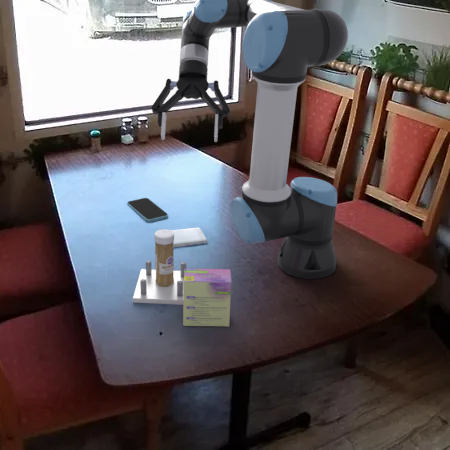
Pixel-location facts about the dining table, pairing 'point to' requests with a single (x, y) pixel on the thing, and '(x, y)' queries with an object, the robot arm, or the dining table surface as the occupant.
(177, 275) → the pin tray
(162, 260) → the sprinkles bottle
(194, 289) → the box
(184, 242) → the hard drive
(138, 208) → the smartphone
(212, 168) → the dining table surface
